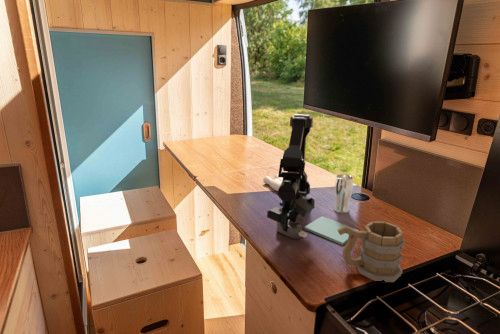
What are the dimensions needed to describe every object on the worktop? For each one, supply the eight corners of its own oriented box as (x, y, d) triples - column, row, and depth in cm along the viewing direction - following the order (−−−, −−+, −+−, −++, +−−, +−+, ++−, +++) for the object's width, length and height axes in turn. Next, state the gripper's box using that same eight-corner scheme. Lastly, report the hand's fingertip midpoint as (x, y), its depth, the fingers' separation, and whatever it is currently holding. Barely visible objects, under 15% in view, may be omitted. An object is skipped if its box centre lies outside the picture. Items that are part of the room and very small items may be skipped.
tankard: (391, 258, 113) (398, 216, 108) (406, 283, 101) (414, 238, 96) (329, 256, 114) (333, 215, 109) (337, 281, 102) (342, 236, 97)
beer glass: (329, 208, 147) (332, 175, 142) (343, 205, 150) (346, 173, 145) (339, 215, 141) (342, 181, 136) (353, 212, 144) (357, 178, 139)
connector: (274, 230, 128) (274, 220, 127) (281, 226, 131) (281, 216, 130) (302, 242, 120) (302, 232, 119) (308, 238, 123) (309, 228, 122)
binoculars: (280, 180, 178) (280, 172, 176) (299, 191, 164) (299, 182, 163) (262, 184, 173) (263, 175, 171) (281, 196, 160) (281, 186, 158)
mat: (304, 229, 130) (304, 226, 130) (321, 218, 139) (321, 216, 138) (342, 245, 120) (342, 242, 120) (358, 232, 128) (359, 230, 128)
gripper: (293, 205, 109) (291, 247, 114) (325, 188, 122) (321, 227, 127) (266, 194, 117) (265, 235, 122) (299, 180, 129) (297, 217, 135)
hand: (288, 229), depth 126 cm, fingers closed on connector, 4 cm apart
